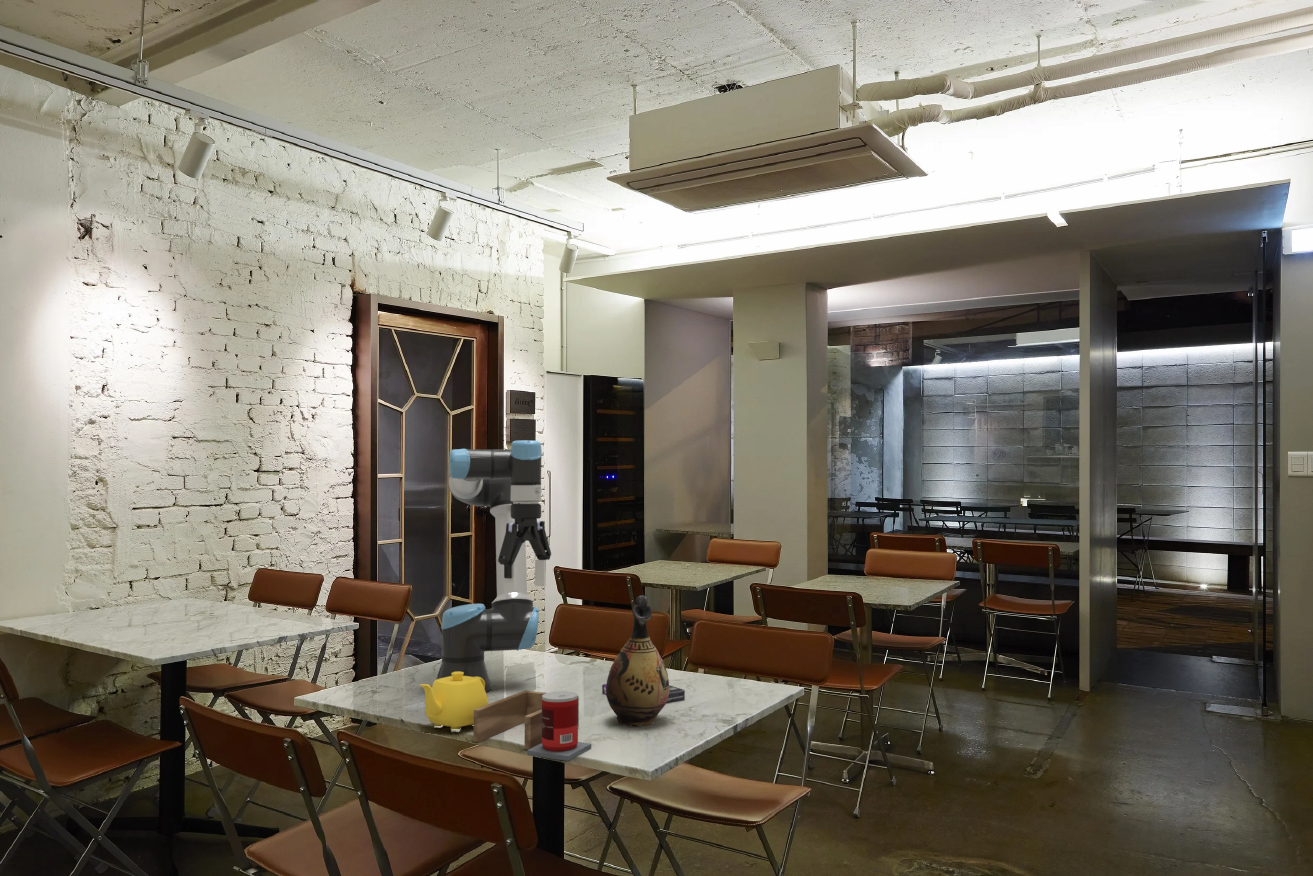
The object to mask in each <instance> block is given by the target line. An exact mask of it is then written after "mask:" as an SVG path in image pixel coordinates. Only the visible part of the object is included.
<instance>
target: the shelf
mask: <svg viewBox="0 0 1313 876" xmlns="http://www.w3.org/2000/svg"><path fill="white" fill-rule="evenodd" d="M546 693H547V692H543V691H536V690H523V691H520V692H519V691H518V692H517V693H515V694H511V695H509V696H506V697H504V698H502V699H501V698H500V699H498V700H496V701H493V702H491V703H488V705H485V706H483V707H480V708H477V709H475V710H474V727H473V740H472V741H473V742H476V743H480V742H483V741H485V740H487V739H490V738H492V737H495V736H497V735H499V734H501V733H504V732H506V731H508V730H510V729H514V728H516V727H517V726H520V725H522V724H524V750H529V749H531V748H533V747H535V746H537V745H539V744H541V743H542V695H544V694H546ZM579 698H580V697H579V695H578V727H579V723H580V722H579V720H580V719H579V715H580V714H579V708H580V707H579V706H580V703H579V700H580V699H579ZM494 735H495V736H494Z"/></svg>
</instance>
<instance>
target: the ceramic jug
mask: <svg viewBox="0 0 1313 876" xmlns="http://www.w3.org/2000/svg"><path fill="white" fill-rule="evenodd" d="M652 613H653V609H652V607H651V606H650V605H648V596H645V595H643V594H642V595H639V596H637V597H635V601H634V605H633V607H632V616H633V628H632V632H631V636H630V637H629V639H627V641H626V643H625V644H624V645H623V647H622V648H621V649H620V651H619V653H618V654H617V656H616V658H615V659H614V660H613V663H612V665H611V667H610V668H609V671H608V676H607V678H606V683H605V684H606V695H605V696H606V700H607V702H608V704H609V707H610V708H611V710H612V711H613V713H614V714H615V715H616V722H617V724H618V725H623V726H626V727H635V728H636V727H640V726H641V727H642V726H644V727H645V726H650V725H653V724H654V723H655V721H656V719H657V717H658V715H659V714H660V712H661V711H662V710H663V708H664V707H665V706H666V705H667V704H668V703H667V699H668V695H669V688H670V687H669V685H670V681H669V675H668V671H667V668H666V665H665V661H664V660H663V658H662V657H661V655H660V653H659V651H658V650H657V647H656V646H655V645H654V644H653V642H652V640H651V637H650V635H649V634H648V627H647V623H648V621H649V620H651V618H652Z"/></svg>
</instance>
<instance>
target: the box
mask: <svg viewBox="0 0 1313 876" xmlns="http://www.w3.org/2000/svg"><path fill="white" fill-rule="evenodd" d="M606 684H607V683H604V684H602V685H601V690H602V691H601V693H602V695H604V696H606ZM669 687H670V688H669V695H668V699H667V703H666V704H671V703H678V702H681V701H685V699H686V697H685V695H686V694H685V693H686V692H685V689H682V688H679V687H676V686H673V685H670V684H669Z"/></svg>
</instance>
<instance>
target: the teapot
mask: <svg viewBox="0 0 1313 876" xmlns="http://www.w3.org/2000/svg"><path fill="white" fill-rule="evenodd" d="M451 674H452V676H449V677H445V678H440V679H437V678H436V679H437V680H436V679H435V680H434V681H433V683H432V685H430V684H428V683H427V684H423V683H422V684H419V686H420V687H422V688H423V691H424V696H425V697H424V698H425V710H424V711H425V715H426V717H427V719H428V721H429V722H431V723H432V724H434V725H433V726H441V725H443V726H444V727H450V730H451V729H460V728H461V729H462V727H465V726H470V725H474V710H475V709H477V708H480V707H483V706H485V705H488V704H489V699H488V695H487V692H485V681H484V680H483V679H482V678H481V677H470V676H463V675H464V672H459V671H458V672H453V673H451Z"/></svg>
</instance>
